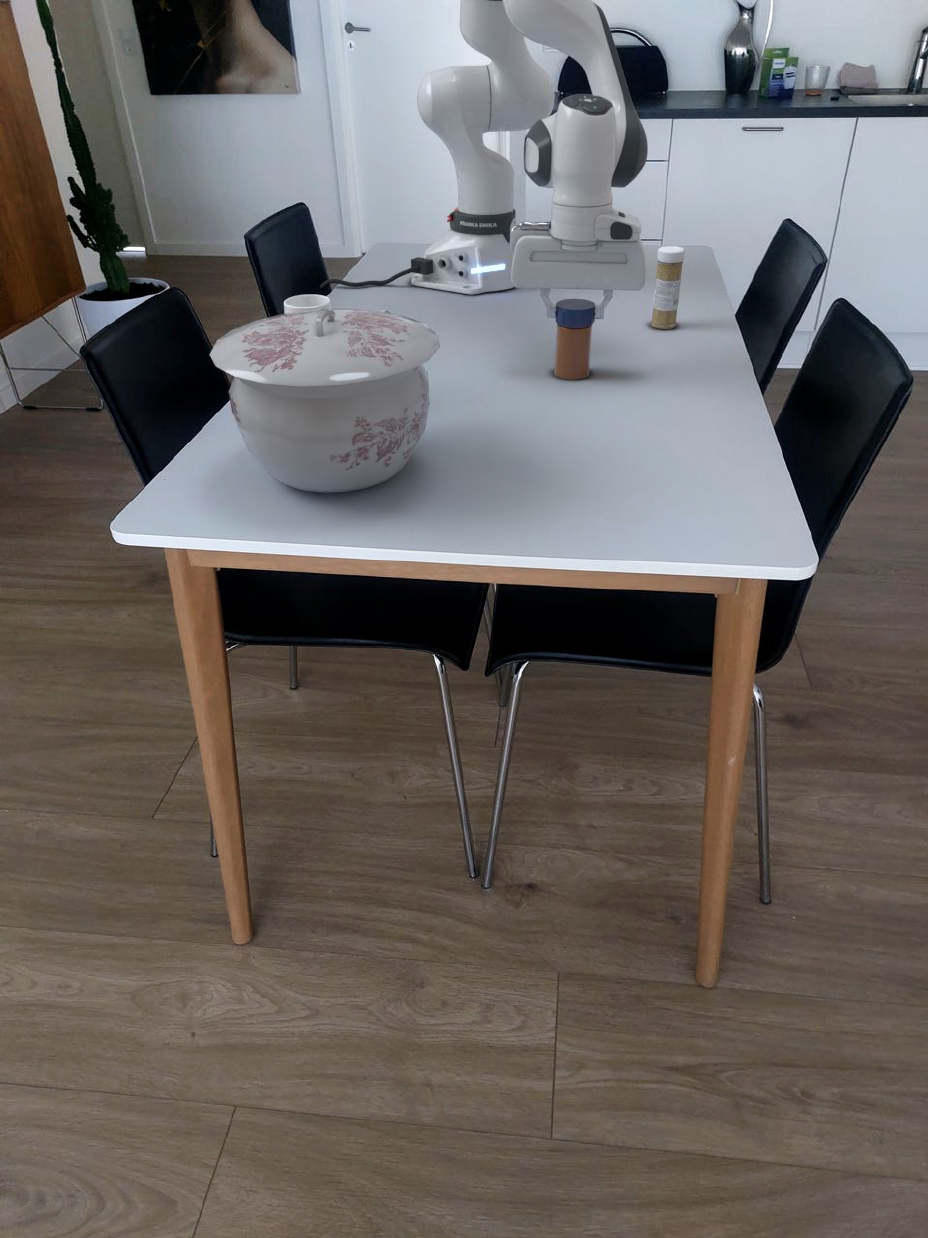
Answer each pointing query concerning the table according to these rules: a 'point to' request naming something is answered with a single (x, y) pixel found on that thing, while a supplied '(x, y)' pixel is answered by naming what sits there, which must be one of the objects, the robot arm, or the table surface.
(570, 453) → the table surface
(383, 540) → the table surface
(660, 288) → the sprinkles bottle
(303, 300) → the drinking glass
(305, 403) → the chamber pot
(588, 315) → the lid
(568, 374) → the brown cylinder
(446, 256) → the robot arm
